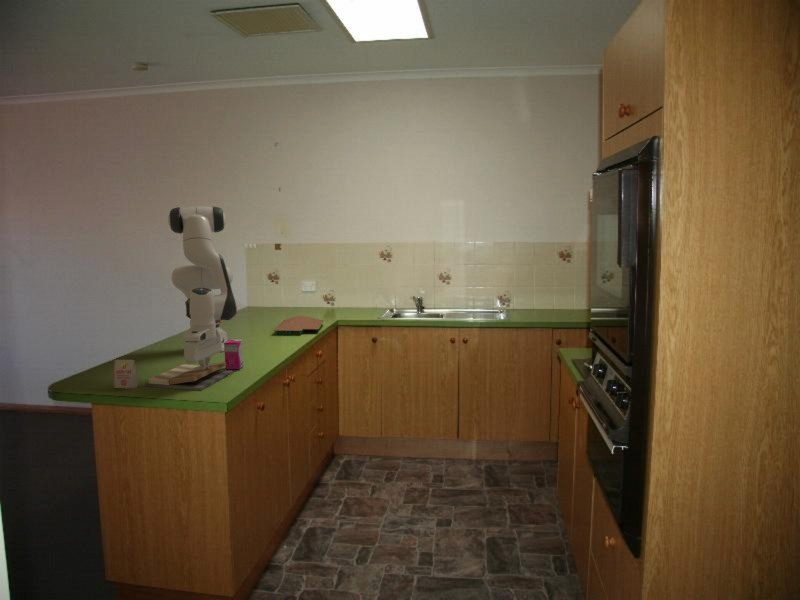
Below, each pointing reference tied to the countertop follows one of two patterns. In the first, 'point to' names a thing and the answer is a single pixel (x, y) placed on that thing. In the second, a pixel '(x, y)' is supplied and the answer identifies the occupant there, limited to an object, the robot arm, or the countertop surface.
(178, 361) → the countertop surface
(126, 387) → the white food carton
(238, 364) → the supplement box
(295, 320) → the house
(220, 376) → the floor board
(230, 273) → the robot arm
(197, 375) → the walnut plank
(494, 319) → the countertop surface
